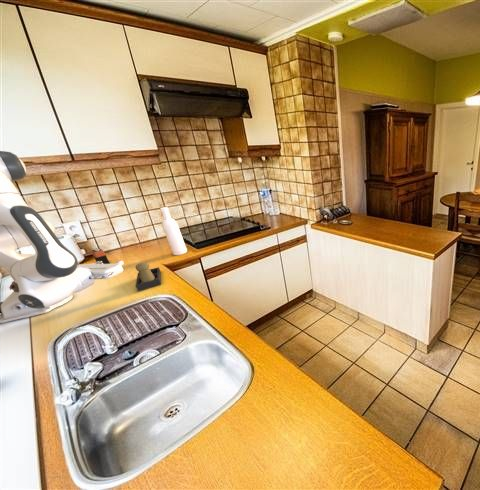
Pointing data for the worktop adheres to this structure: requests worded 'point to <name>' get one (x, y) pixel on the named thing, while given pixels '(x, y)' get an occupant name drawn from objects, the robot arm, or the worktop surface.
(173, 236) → the bottle
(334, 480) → the worktop surface
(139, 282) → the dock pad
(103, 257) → the battery
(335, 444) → the worktop surface
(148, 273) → the cork
